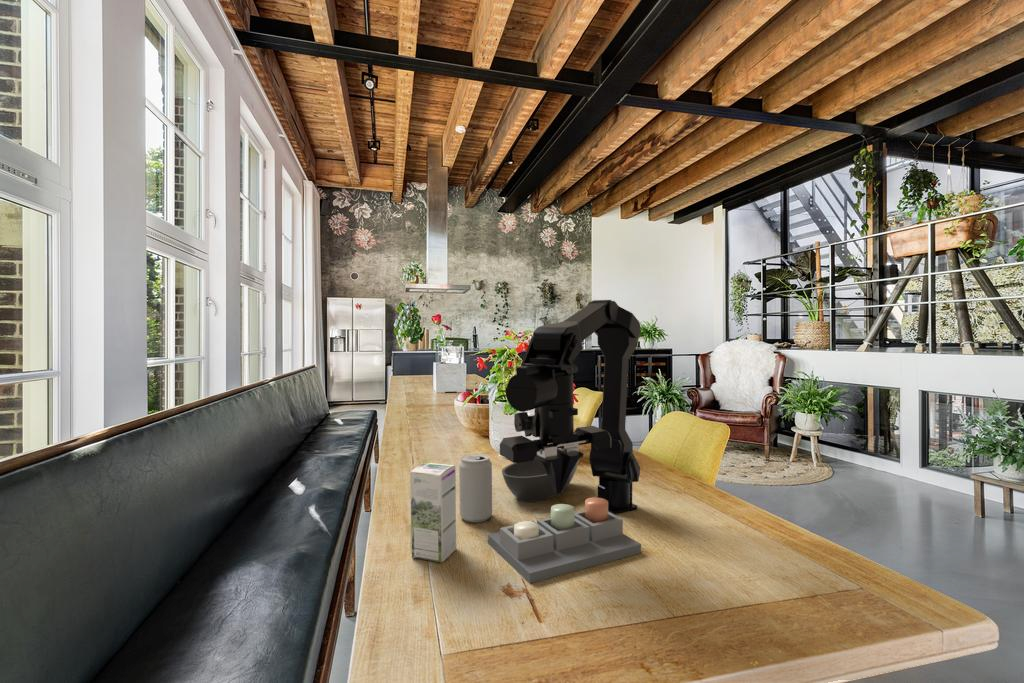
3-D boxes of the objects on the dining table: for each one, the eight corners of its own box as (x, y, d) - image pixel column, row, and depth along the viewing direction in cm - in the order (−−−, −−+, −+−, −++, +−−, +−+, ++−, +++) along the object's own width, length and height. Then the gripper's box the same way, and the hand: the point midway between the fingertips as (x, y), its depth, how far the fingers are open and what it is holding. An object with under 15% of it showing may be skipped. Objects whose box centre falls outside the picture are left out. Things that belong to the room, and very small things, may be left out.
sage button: (566, 520, 86) (566, 502, 86) (579, 529, 83) (579, 510, 82) (546, 524, 84) (546, 506, 84) (559, 533, 81) (559, 514, 81)
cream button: (531, 538, 83) (531, 519, 83) (543, 548, 80) (543, 528, 79) (509, 543, 81) (509, 524, 81) (521, 553, 78) (521, 533, 78)
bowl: (592, 487, 115) (592, 460, 115) (528, 512, 100) (528, 482, 99) (552, 476, 124) (552, 451, 124) (487, 498, 108) (487, 470, 108)
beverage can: (487, 525, 93) (487, 462, 93) (455, 522, 94) (454, 460, 94) (495, 512, 99) (495, 453, 99) (464, 510, 101) (464, 452, 100)
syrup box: (457, 548, 84) (457, 463, 83) (441, 564, 78) (440, 473, 78) (427, 543, 85) (426, 460, 85) (409, 559, 80) (408, 470, 79)
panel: (587, 521, 95) (587, 499, 95) (641, 553, 82) (641, 527, 82) (488, 543, 86) (487, 519, 85) (529, 583, 72) (529, 555, 72)
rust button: (598, 513, 89) (598, 496, 89) (612, 521, 86) (612, 503, 86) (580, 517, 88) (580, 499, 87) (593, 525, 84) (594, 507, 84)
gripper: (576, 390, 94) (577, 471, 94) (485, 399, 85) (487, 488, 86) (612, 399, 84) (613, 489, 84) (514, 410, 75) (515, 510, 76)
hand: (557, 493), depth 83 cm, fingers closed
